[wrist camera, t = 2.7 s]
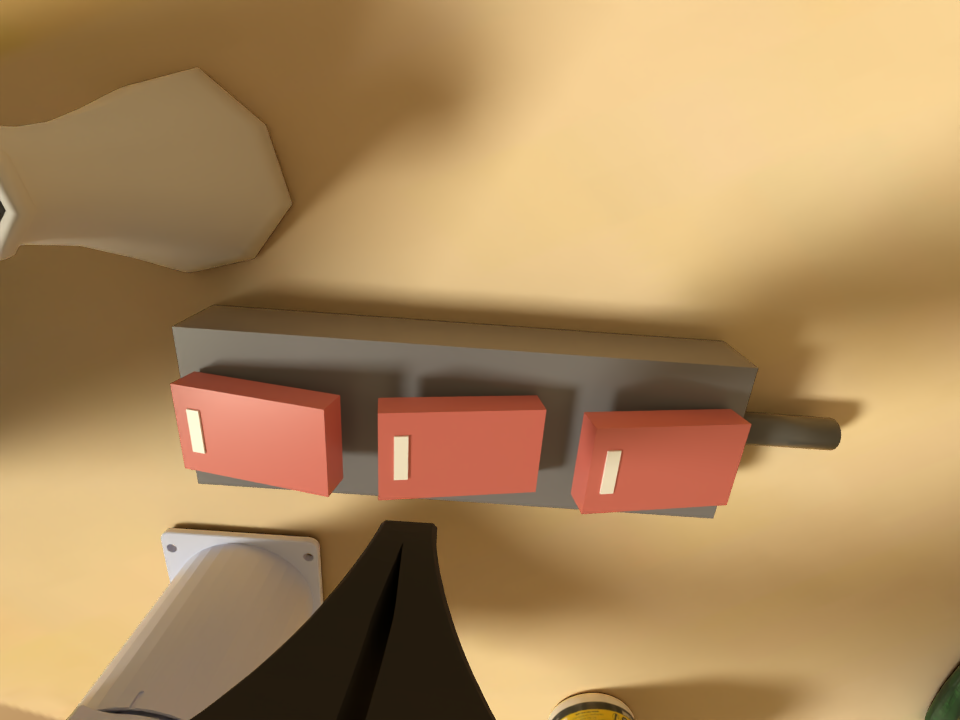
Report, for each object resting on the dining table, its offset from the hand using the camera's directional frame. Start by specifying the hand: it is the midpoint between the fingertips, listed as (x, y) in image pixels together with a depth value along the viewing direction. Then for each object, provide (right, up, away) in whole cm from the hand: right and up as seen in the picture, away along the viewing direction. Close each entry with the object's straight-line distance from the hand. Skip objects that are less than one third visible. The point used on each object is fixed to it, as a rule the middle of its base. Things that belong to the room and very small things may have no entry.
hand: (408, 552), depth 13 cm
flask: (-9, +12, +7) cm, 17 cm away
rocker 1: (-6, +2, +6) cm, 9 cm away
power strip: (+4, +3, +10) cm, 11 cm away
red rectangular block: (+9, +1, +6) cm, 10 cm away
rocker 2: (+1, +2, +6) cm, 6 cm away
